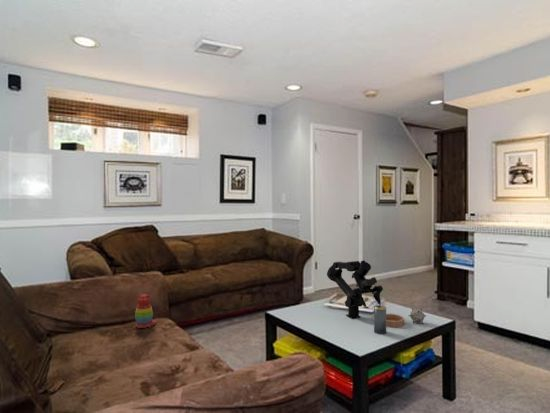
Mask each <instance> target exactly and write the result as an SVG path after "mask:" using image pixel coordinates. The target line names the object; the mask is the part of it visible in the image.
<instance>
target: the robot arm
mask: <svg viewBox="0 0 550 413" xmlns="http://www.w3.org/2000/svg"><path fill="white" fill-rule="evenodd" d="M343 269H345V270H346V271H347V272H353V273H352V275H351V278H352V279H354V280H355V283H356V285H355V286H356V287H357V288H351V286H350V285H349V284H348V282H346V280H345V279H344V278H343V277H342V275H343ZM371 270H372V266H371V264H370V263H368V262H366V260H364V259H363V260H361V261H359V260H354V261H353V260H351V261H347V262H346V261H334V262H332V265H331V266H330V267H329V268H328V270H327V271H326V276H327V278H328V279H329V280H330V281H332V282H335V283H336V285H337V286H338V287H339V289H341V291H342V292H343V293H344V294H345V296H346V300H345V301H344V306H345V307H346V308H347V310H348V312H347V313H346V317H347V318H350V319H351V320H353V319H359V318H362V316H361V315H360V310H359V307H362V306H363V307H364V308H366V307H367V304H366V301H365V300H364V298H363V294H372V295H373V296H372V297H373V298H374V299H375V301H376V303H377V304H378V305H380V306H381V305H382V304H381V293H382V291H383V290H384V287H383V286H382V285H376V284H377V283H378V280H377V278H376V277H375V276H374V277H373V276H372V277H371V278H366V276H367V275H368V273H369V272H370V271H371Z"/></svg>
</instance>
